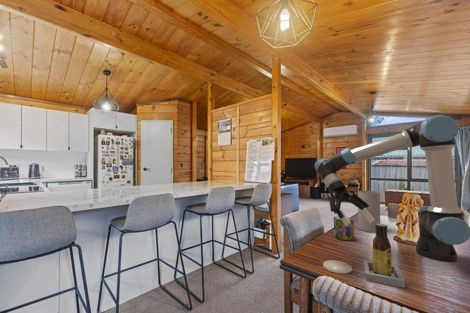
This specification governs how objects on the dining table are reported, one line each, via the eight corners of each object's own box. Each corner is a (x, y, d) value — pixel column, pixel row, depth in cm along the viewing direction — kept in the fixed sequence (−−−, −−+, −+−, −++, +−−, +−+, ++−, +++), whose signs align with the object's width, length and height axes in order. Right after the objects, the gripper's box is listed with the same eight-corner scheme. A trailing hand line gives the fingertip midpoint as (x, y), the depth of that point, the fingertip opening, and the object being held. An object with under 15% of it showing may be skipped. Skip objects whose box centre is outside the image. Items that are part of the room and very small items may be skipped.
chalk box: (354, 241, 129) (354, 214, 130) (337, 239, 131) (336, 213, 131) (349, 235, 138) (349, 211, 139) (333, 234, 140) (333, 210, 140)
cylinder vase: (354, 228, 154) (353, 191, 154) (366, 226, 159) (366, 190, 160) (372, 233, 142) (371, 193, 143) (384, 231, 148) (384, 192, 148)
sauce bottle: (392, 282, 85) (391, 228, 86) (372, 277, 88) (372, 225, 89) (391, 274, 91) (390, 224, 91) (372, 270, 94) (372, 221, 94)
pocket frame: (397, 272, 93) (397, 265, 93) (404, 287, 81) (404, 280, 81) (363, 266, 98) (363, 260, 98) (365, 280, 86) (365, 273, 86)
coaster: (351, 265, 99) (351, 263, 99) (352, 276, 89) (352, 274, 89) (324, 260, 104) (324, 258, 104) (322, 270, 94) (322, 268, 94)
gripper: (350, 188, 119) (376, 225, 105) (310, 190, 111) (332, 230, 97) (358, 179, 115) (387, 216, 100) (317, 180, 107) (342, 220, 92)
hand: (360, 223), depth 98 cm, fingers open, 13 cm apart
